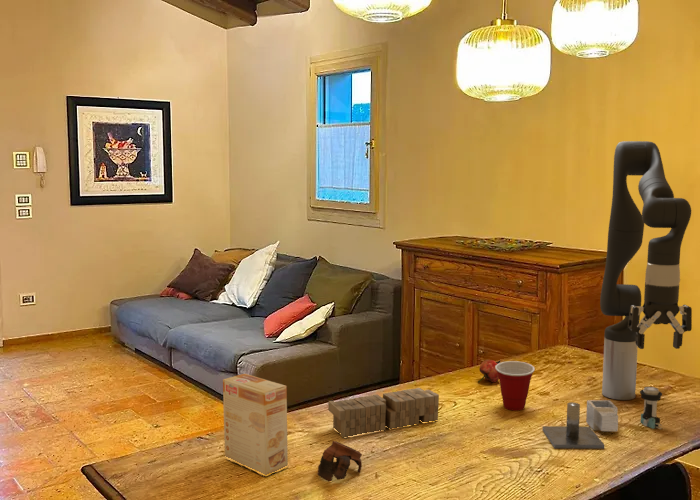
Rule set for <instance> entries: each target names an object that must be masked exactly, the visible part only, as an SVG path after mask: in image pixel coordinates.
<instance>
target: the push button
mask: <svg viewBox="0 0 700 500" xmlns="http://www.w3.org/2000/svg"><path fill="white" fill-rule="evenodd" d="M639 394H641V395H640V398H641V399H643V401H644V403H643V410H642V411H643V413H640V424H641V423H642V425H643V426H644V427H648V428H651V429H653V430H655V429H659V430H662V429H663V427H660V426H663V424H661V418H660V417H659V416H657V415H658V414H657V409H658V407H657V406H658V402H659V401H661V398H662V396H663V392H661V391H659V388H657V387H654V386H644V387H643V389H640V390H639Z"/></svg>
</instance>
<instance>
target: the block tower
mask: <svg viewBox="0 0 700 500" xmlns="http://www.w3.org/2000/svg"><path fill="white" fill-rule="evenodd" d="M439 401H440V395H439V394H438V393H436V392H434V391H433V390H430V389H423V388H421V387H415V388H409V389H408V388H407V389H403V390H397V391H392V392H384V393H382V396H380V395H379V394H373V395H366V396H358V397H354V398H350V399H349V398H348V399H343V400H337V401H334V400H329V401H328V403H327V404H328V406H327V408H328V411H329V412H330V413H331V414H332V415H333V417H332V419H333V420H332V421H333V422H332V423H333V424H332V426H333V427H332V429H333V428H335V429H336V430H337V431H338V432H339V433H341V435H342V436H343V437H348V436H353V435H357V434H362V433H367V432H374V431H379V430H380V431H381V430H385V431H386V427H385V426H387V427H388V428H390V429H392V428H397V427H403V426H407V425H414V424H419V425H420V421H419V420H421V421H422V422H429V421H435V420H438V421H439V404H440V403H439ZM422 422H421V423H422ZM388 428H387V429H388ZM341 435H340V436H341ZM342 436H341V437H342ZM343 437H342V438H343Z"/></svg>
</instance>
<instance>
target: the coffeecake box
mask: <svg viewBox="0 0 700 500" xmlns="http://www.w3.org/2000/svg"><path fill="white" fill-rule="evenodd" d="M287 387H288V386H287V385H284V384H282V383H278V382H275V381H271V380H268V379H265V378H261V377H257V376H254V375H251V374H248V373H242V374H241V373H240V374H238V375H234V376H230V377H227V378H222V394H223V395H222V397H223V403H222V405H223V429H224V430H223V432H224V433H223V434H224V436H223V437H224V439H223V440H224V457H225V456H226V457H228V458H231V459H233V460H235V461H237V462H239V463H241V464H243V465H246V466H248V467H250V468H252V469H255V470H257V471H259V472H261V473H263V474H265V475H267V474H269V473H272V472H275V471H277V470H279V469H281V468H283V467H285V466H287V465H288V464H289V458H288V457H289V456H288V454H289V453H288V403H287V402H288V400H287V399H288V397H287V396H288V395H287V391H288V390H287ZM288 466H289V465H288Z"/></svg>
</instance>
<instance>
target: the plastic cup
mask: <svg viewBox="0 0 700 500" xmlns="http://www.w3.org/2000/svg"><path fill="white" fill-rule="evenodd" d="M495 367H496V370H497V372H498V376H499V380H498V381H499V387H500V392H501V393H500V395H501V398H502V405H503V408H504V409H506V410H508V411H515V412H516V411H517V412H518V411H523V410H524V409H525V407H526V405H527V404H526V402H527V398H528V395H529V390H530V385H531V380H532V377H533V373H534V372H535V370H536V369H535V366H534V365H532V364H530V363H528V362H524V361H517V360H509V361H502V362H501V361H500V363H498V364H497V365H496V366H495Z"/></svg>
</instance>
